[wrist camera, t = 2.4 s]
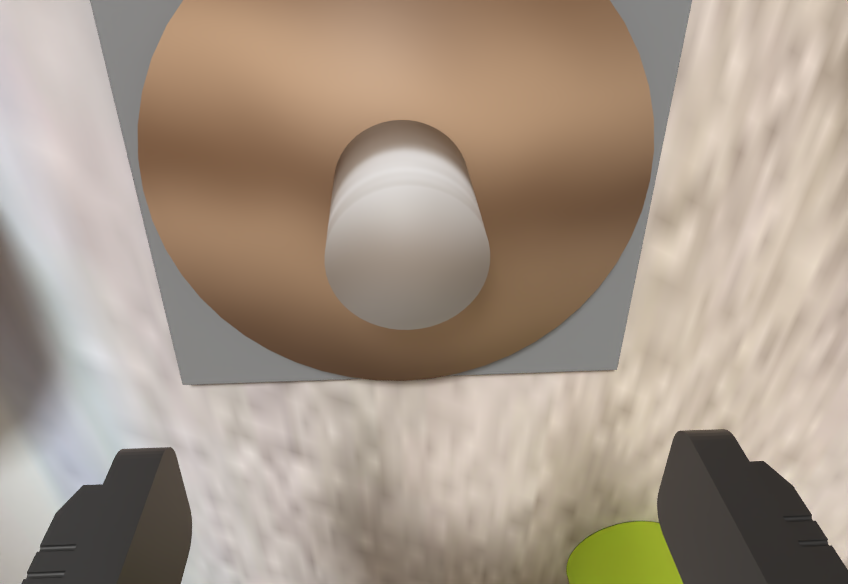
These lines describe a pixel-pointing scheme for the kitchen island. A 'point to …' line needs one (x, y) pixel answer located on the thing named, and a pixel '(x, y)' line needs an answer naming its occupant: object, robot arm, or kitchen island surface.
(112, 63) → the mat
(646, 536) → the soap dispenser
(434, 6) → the lid
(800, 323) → the kitchen island surface
